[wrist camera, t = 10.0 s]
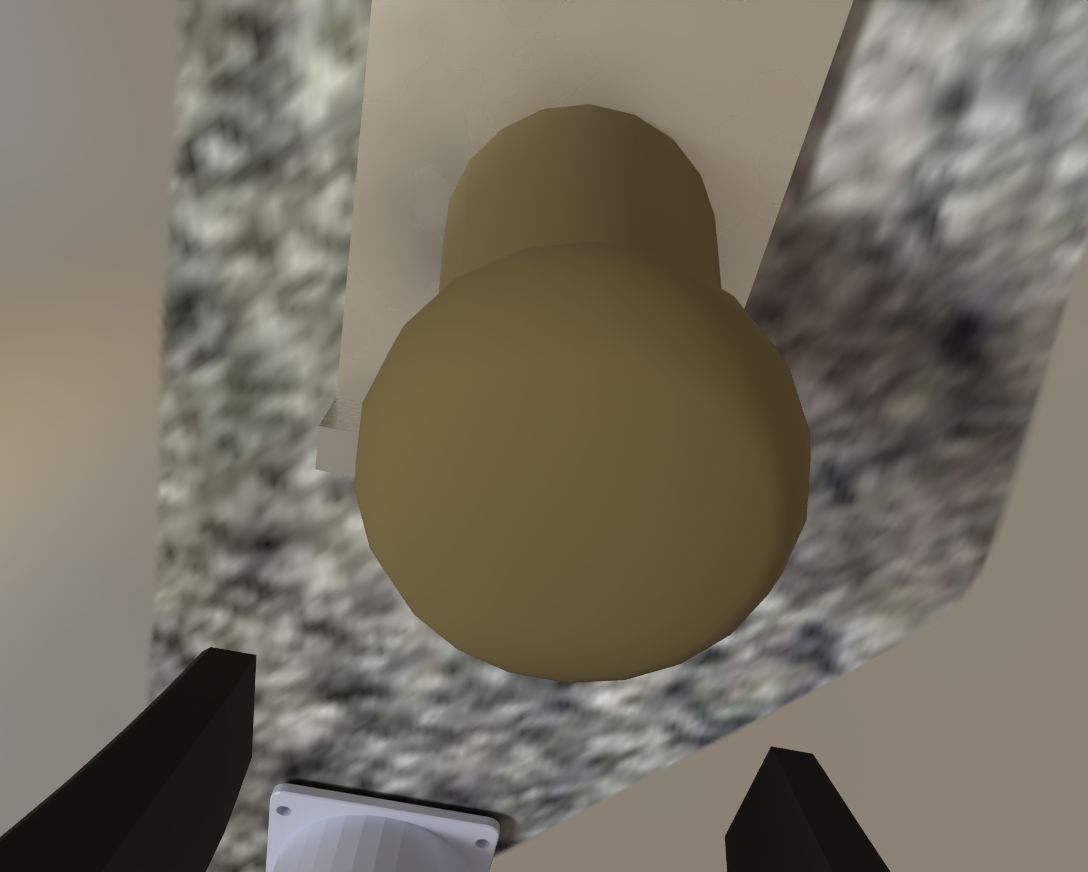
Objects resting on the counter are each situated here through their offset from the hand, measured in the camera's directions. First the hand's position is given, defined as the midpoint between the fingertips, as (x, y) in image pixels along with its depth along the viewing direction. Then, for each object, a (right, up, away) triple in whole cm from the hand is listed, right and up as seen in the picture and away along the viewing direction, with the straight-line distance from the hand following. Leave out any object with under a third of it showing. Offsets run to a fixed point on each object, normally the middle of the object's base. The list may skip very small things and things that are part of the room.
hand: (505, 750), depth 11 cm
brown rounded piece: (+1, +9, +7) cm, 11 cm away
